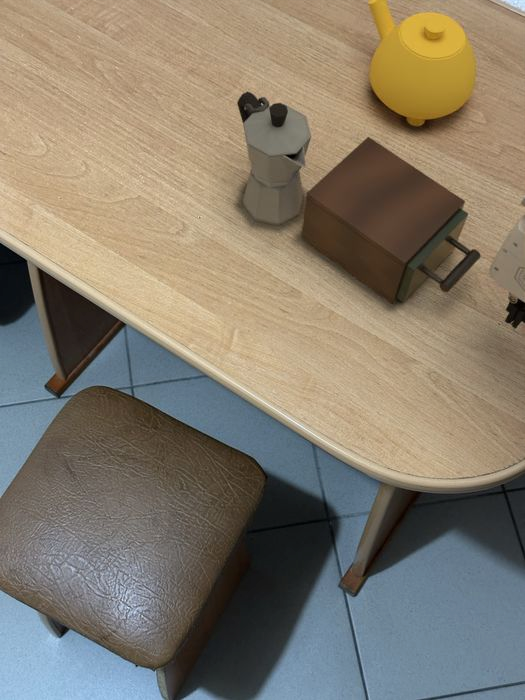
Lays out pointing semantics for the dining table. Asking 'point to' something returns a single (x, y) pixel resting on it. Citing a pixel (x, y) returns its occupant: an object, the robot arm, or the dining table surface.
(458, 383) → the dining table surface
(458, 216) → the drawer
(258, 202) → the coffee maker
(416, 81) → the teapot
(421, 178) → the cabinet
